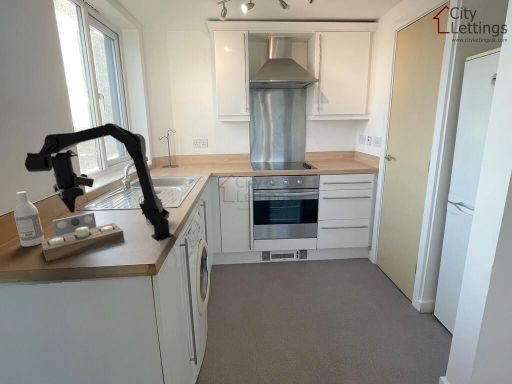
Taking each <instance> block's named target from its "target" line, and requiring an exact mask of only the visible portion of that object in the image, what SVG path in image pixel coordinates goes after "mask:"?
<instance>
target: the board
mask: <svg viewBox="0 0 512 384" xmlns="http://www.w3.org/2000/svg"><path fill="white" fill-rule="evenodd" d="M106 226H112V227H113V230H111V231H107V232H103V233H101V228H103V227H106ZM89 234H90V236H86V237H82V238H78V239H77V236H76V232H73V233H69V234H64V235H60V236H56V235H55V236H53V237H52V236H51V237H48V238H44V239H43V240H41V243H40V244H41V248H42V253H43V255H44V258H45V261H46V262H47V261H48V262H52V261H54V260H58V259H61V258H65V257H69V256H73V255H76V254H80V253H84V252H87V251H91V250H95V249H98V248H102V247H105V246H109V245H113V244H117V243H119V242H124V241H125V236H124V235H125V234H124V230H123V229H122V228H120V227H119V226H118V225H117V224H115V223H113V222H112V223H109V224H104V225H100V226H96V227H95V228H90V229H89ZM54 238H63V240H64V242H62V243H58V244H54V245H50V243H49V241H50V240H51V239H54Z"/></svg>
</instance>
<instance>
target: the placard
mask: <svg viewBox="0 0 512 384" xmlns="http://www.w3.org/2000/svg"><path fill="white" fill-rule="evenodd" d="M52 225H53V229H54V234H55V237H56V236H60V235H64V234H69V233H73V232H76V231H75V230H76V229H77V228H80V227H88V229H90V228H95V227H97V222H96V216H95V212H94V211H92V212H88V213H83V214H82V213H81V214H78V215H77V214H76V215H72V216H67V217H62V218H59V219H53V220H52Z"/></svg>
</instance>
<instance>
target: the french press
mask: <svg viewBox="0 0 512 384" xmlns="http://www.w3.org/2000/svg"><path fill="white" fill-rule="evenodd" d="M148 168H149V172H150V173H151V171H150V170H152V167H151V166H148ZM154 190H155V193H156V195H159V194H162V190H161V189H158V188H155V187H154ZM141 193H142V192H141ZM143 198H144V196H143V193H142V195H141V196H140V197H139V198H138V201H140V202H138V205H139V207H140V204H141V203H142V201H143V200H142V199H143ZM159 199H160V201H161V203H162V205H163V202H162V199H161V198H159ZM163 206H164V205H163ZM140 209H141V207H140ZM143 222H144V223H143V224H144V225H147V226H153V225H152V224H151V222H150V221H149V220H148V219H146V218H145V221H143Z"/></svg>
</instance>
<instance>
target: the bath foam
mask: <svg viewBox="0 0 512 384" xmlns="http://www.w3.org/2000/svg"><path fill="white" fill-rule="evenodd" d="M16 197H17V204H16V206H15V209H14V211H13V212H14V213H13V214H14V220H15V224H16V225H15V226H16V228H17V233H18V236H19V240H20V245H21V246H22V247H26V248H27V247H34V246H37V245H40V244H41V240H43V239H45V236H44V232H43V228H42V222H41V218H40V213H39V210H38V208H37V207H36V206H35V205H34V204H33V203H32V202H31V201H30V200H29V197H28V191H17V192H16Z"/></svg>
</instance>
